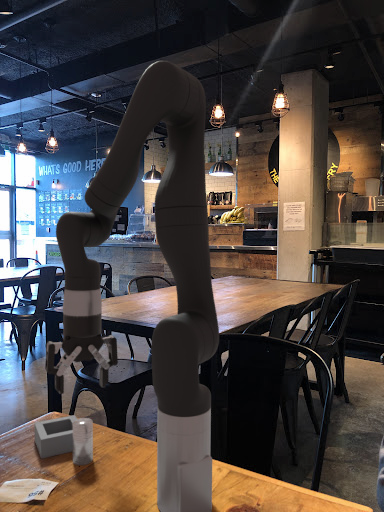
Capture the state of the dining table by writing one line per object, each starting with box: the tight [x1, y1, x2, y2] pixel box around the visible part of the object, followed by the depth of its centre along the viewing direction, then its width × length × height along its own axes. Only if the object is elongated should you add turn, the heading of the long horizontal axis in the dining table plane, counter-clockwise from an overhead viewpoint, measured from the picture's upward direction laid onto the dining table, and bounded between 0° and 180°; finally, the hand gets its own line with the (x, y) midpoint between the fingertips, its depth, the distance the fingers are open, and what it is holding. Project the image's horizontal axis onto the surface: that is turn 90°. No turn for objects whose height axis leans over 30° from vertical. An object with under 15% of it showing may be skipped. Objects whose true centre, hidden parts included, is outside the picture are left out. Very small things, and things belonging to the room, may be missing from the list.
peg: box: [72, 417, 94, 466], centre depth 87 cm, size 4×4×8 cm
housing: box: [33, 414, 78, 460], centre depth 94 cm, size 9×9×4 cm
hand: (82, 389), depth 87 cm, fingers open, 8 cm apart
